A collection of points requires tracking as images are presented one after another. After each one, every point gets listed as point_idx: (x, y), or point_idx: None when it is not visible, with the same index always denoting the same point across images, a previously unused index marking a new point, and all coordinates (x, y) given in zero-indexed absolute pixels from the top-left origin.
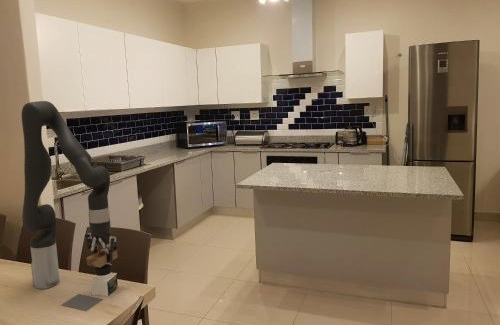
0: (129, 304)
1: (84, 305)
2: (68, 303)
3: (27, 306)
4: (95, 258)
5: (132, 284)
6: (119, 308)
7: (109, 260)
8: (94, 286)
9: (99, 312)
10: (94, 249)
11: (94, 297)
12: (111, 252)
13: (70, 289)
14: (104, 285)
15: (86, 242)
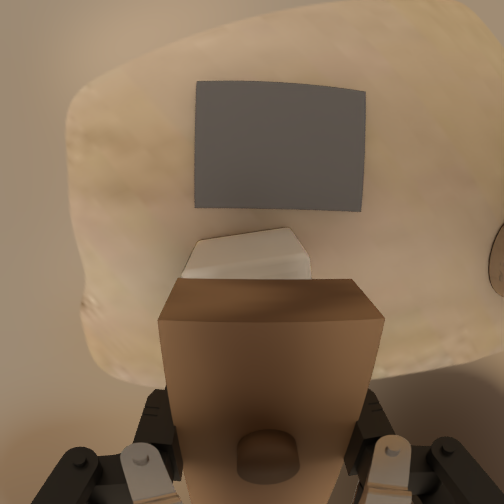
0: (73, 228)
1: (246, 121)
2: (341, 114)
3: (479, 86)
4: (249, 344)
5: None
6: (88, 183)
7: (157, 395)
8: (278, 244)
9: (147, 118)
10: (370, 463)
11: (254, 205)
12: (80, 451)
13: (428, 249)
14: (207, 258)
15: (488, 485)
